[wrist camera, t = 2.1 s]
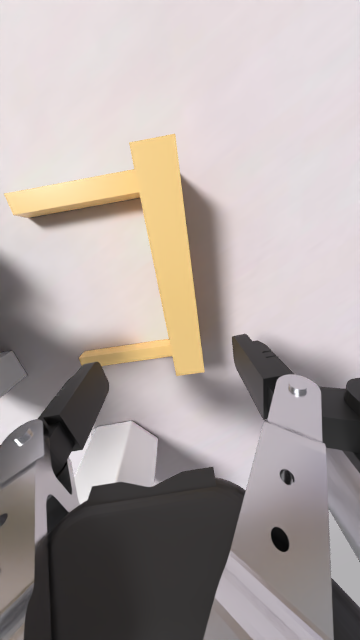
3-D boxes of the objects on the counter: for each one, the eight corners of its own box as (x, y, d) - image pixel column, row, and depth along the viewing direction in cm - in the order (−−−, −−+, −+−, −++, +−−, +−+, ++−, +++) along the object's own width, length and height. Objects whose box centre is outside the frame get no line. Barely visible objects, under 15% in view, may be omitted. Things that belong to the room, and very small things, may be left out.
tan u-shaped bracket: (175, 169, 12) (175, 133, 8) (198, 345, 17) (204, 372, 13) (19, 198, 12) (-49, 177, 9) (89, 361, 18) (65, 391, 14)
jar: (147, 467, 25) (124, 646, 14) (89, 458, 24) (12, 643, 13) (164, 426, 21) (152, 615, 10) (98, 412, 20) (5, 609, 9)
